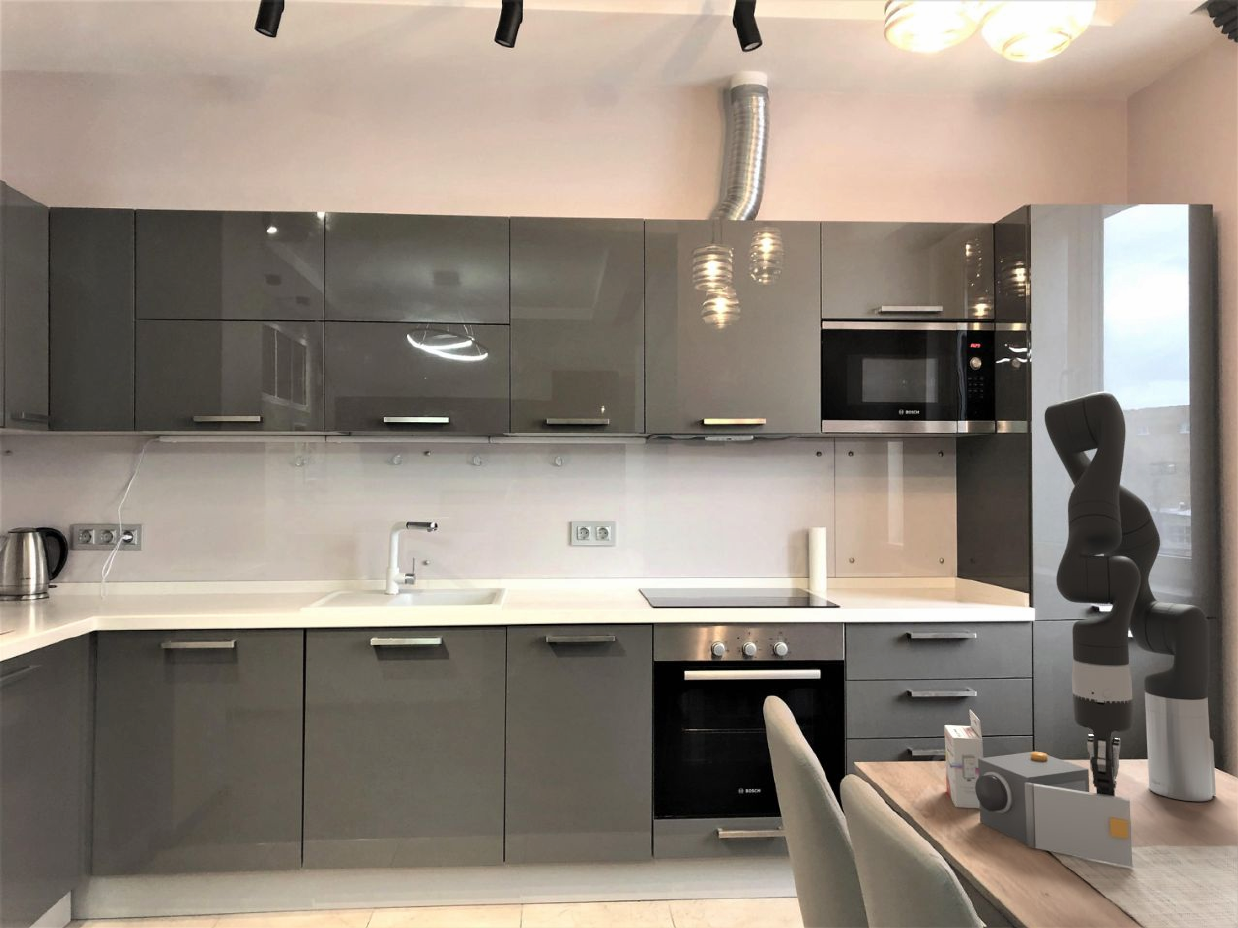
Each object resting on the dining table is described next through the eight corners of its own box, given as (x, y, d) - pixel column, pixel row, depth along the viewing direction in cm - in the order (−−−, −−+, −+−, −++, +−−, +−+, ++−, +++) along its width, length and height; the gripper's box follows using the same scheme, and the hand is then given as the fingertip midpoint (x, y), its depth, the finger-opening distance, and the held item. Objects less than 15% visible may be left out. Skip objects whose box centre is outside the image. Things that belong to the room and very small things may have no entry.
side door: (1132, 864, 113) (1129, 798, 113) (1132, 868, 111) (1129, 801, 112) (1027, 843, 120) (1025, 781, 120) (1026, 847, 118) (1023, 785, 119)
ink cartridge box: (944, 790, 144) (942, 707, 145) (974, 792, 143) (971, 708, 144) (954, 807, 136) (951, 719, 137) (986, 809, 135) (983, 720, 136)
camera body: (1038, 812, 133) (1036, 746, 134) (1092, 835, 124) (1089, 764, 124) (970, 823, 129) (967, 754, 129) (1020, 848, 119) (1017, 773, 120)
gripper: (1076, 681, 125) (1080, 794, 124) (1068, 698, 114) (1072, 823, 113) (1133, 686, 121) (1138, 804, 120) (1130, 705, 110) (1135, 835, 109)
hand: (1106, 813), depth 117 cm, fingers closed
